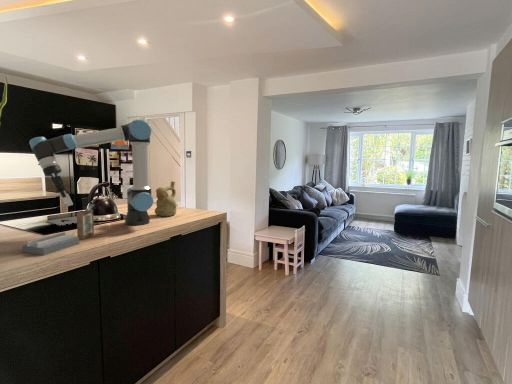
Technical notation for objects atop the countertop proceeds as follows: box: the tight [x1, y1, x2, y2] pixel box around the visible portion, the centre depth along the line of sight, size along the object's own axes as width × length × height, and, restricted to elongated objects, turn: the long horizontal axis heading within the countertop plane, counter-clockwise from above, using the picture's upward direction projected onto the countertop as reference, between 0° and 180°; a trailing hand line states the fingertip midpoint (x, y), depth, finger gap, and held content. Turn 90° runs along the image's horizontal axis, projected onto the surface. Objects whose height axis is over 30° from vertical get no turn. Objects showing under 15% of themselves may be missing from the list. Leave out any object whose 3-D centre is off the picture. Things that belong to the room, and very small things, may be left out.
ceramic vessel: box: [154, 180, 178, 217], centre depth 217 cm, size 17×20×25 cm
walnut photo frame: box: [76, 209, 95, 241], centre depth 152 cm, size 9×3×14 cm, turn 173°
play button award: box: [46, 215, 77, 227], centre depth 189 cm, size 16×2×20 cm
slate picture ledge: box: [22, 231, 80, 256], centre depth 134 cm, size 18×12×5 cm, turn 165°
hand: (69, 204), depth 151 cm, fingers open, 13 cm apart
